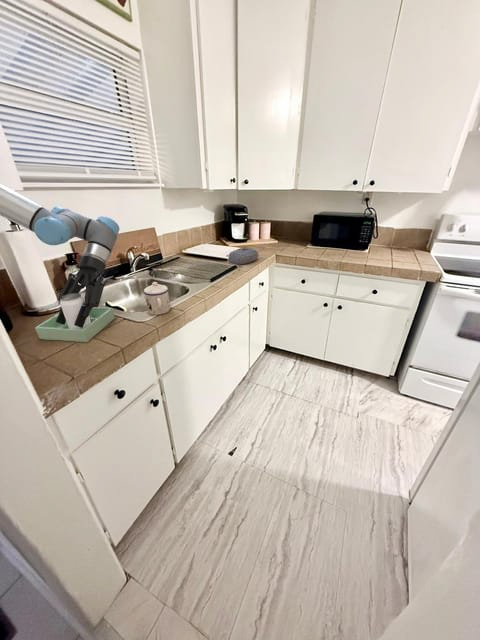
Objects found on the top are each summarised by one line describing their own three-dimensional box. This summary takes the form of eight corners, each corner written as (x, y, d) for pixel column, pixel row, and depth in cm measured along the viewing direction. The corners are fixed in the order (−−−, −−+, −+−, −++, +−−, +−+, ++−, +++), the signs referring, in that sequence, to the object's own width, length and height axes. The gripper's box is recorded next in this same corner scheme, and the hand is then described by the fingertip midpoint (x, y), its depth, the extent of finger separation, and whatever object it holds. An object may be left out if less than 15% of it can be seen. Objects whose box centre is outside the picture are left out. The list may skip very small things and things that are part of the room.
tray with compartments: (39, 339, 85) (34, 327, 83) (73, 316, 99) (70, 305, 97) (87, 342, 83) (83, 330, 81) (114, 318, 98) (112, 307, 96)
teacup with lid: (146, 307, 106) (141, 280, 100) (168, 304, 109) (165, 277, 103) (149, 320, 96) (144, 291, 90) (174, 316, 99) (170, 287, 94)
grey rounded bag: (243, 266, 157) (263, 259, 171) (243, 252, 153) (263, 247, 167) (225, 262, 166) (245, 256, 179) (225, 248, 162) (245, 243, 176)
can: (68, 330, 86) (56, 296, 81) (88, 323, 90) (78, 291, 85) (73, 337, 82) (61, 302, 77) (95, 330, 86) (85, 296, 81)
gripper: (125, 268, 89) (102, 332, 83) (80, 263, 94) (55, 324, 88) (111, 256, 82) (85, 325, 76) (62, 252, 87) (34, 317, 81)
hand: (69, 324), depth 82 cm, fingers closed on can, 6 cm apart
